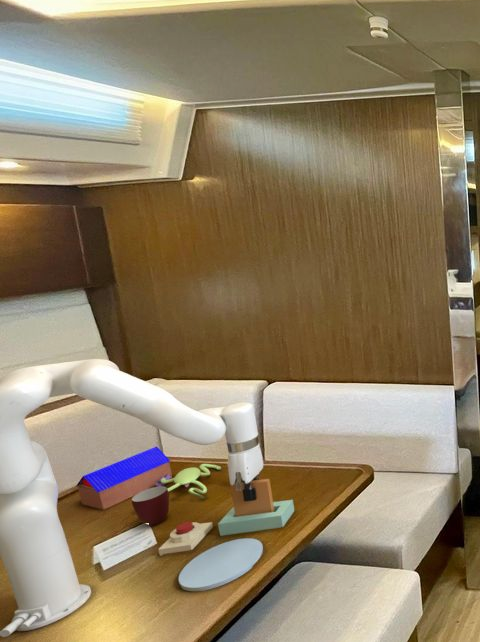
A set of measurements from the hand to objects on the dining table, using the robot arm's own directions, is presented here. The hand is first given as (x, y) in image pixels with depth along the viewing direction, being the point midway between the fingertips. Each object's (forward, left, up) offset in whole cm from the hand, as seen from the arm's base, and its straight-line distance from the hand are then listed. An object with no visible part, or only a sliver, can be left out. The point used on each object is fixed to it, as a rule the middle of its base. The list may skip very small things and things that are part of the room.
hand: (252, 497), depth 139 cm
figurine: (+26, +36, -10) cm, 45 cm away
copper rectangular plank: (0, 0, -6) cm, 6 cm away
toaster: (0, 0, -9) cm, 9 cm away
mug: (+9, +34, -10) cm, 36 cm away
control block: (-4, +17, -9) cm, 20 cm away
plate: (-17, +1, -9) cm, 19 cm away
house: (+31, +55, -10) cm, 64 cm away
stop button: (-4, +17, -6) cm, 18 cm away
